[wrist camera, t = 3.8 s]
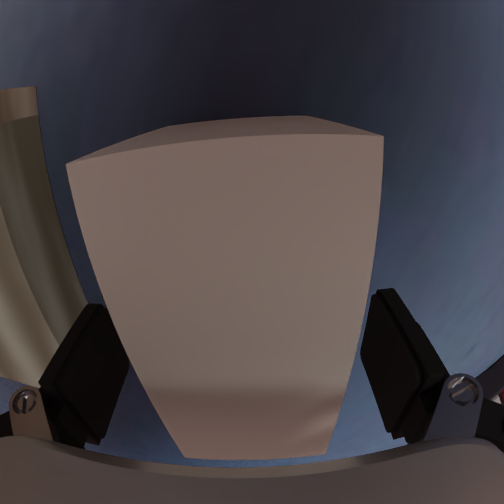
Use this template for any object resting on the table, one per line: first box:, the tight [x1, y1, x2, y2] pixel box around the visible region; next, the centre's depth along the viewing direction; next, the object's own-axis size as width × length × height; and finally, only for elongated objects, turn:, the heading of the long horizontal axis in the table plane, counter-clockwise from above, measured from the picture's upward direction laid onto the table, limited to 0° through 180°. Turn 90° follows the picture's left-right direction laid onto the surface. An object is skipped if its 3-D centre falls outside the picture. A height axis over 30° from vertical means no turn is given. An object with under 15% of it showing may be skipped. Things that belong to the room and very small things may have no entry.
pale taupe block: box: [66, 116, 384, 460], centre depth 11 cm, size 6×13×8 cm, turn 4°
